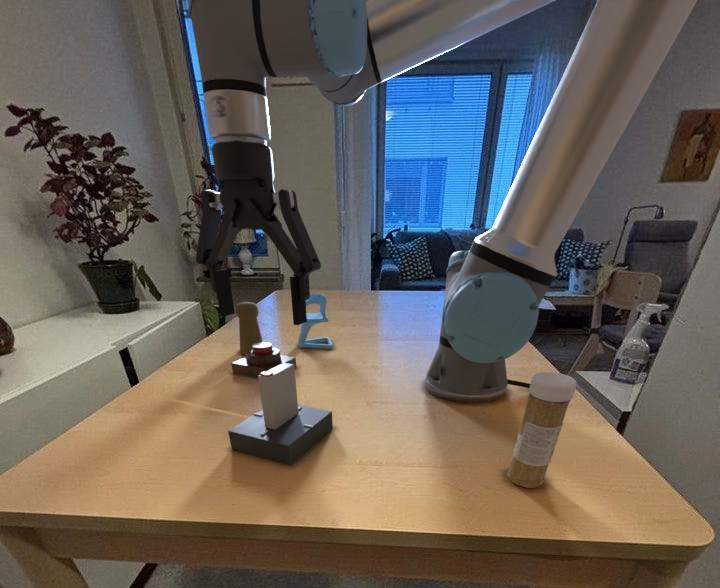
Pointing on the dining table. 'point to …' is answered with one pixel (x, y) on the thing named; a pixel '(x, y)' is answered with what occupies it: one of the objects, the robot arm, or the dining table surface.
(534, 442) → the sprinkles bottle
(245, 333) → the cork
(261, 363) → the button block
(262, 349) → the button
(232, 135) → the robot arm
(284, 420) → the handle
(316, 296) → the chair
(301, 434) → the panel
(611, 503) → the dining table surface
